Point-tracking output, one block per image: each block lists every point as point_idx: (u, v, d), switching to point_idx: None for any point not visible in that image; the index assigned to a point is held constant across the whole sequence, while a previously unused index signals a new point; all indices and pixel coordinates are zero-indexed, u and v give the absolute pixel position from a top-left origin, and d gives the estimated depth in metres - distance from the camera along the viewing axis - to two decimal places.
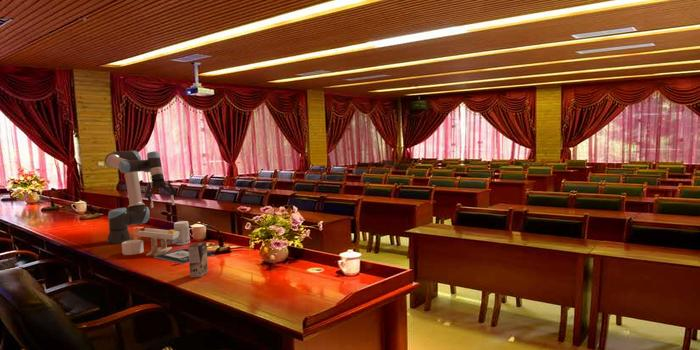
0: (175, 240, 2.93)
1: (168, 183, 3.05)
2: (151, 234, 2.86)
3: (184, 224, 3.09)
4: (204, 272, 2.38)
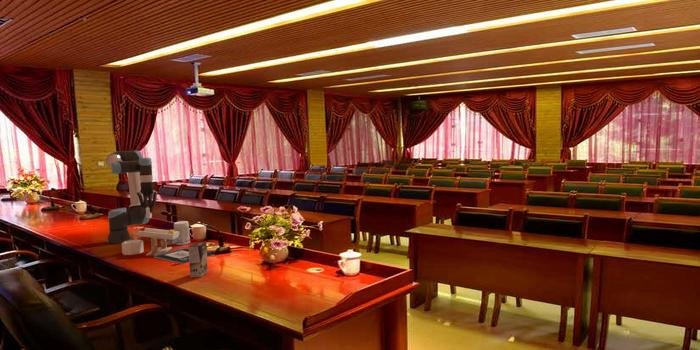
0: (175, 240, 2.93)
1: None
2: (151, 234, 2.86)
3: (184, 224, 3.09)
4: (204, 272, 2.38)
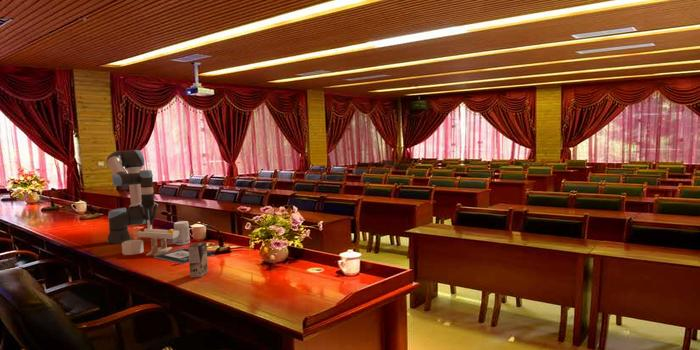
0: (175, 239, 2.93)
1: (154, 206, 2.99)
2: (151, 234, 2.86)
3: (184, 224, 3.09)
4: (204, 272, 2.38)
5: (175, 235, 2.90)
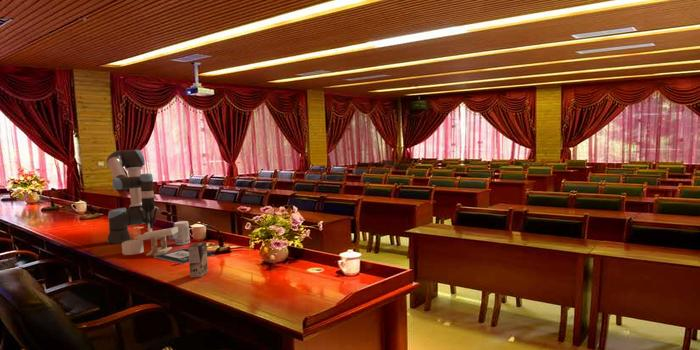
0: (176, 235, 2.92)
1: (154, 210, 2.99)
2: (150, 235, 2.86)
3: (184, 224, 3.09)
4: (204, 272, 2.38)
5: (174, 231, 2.90)
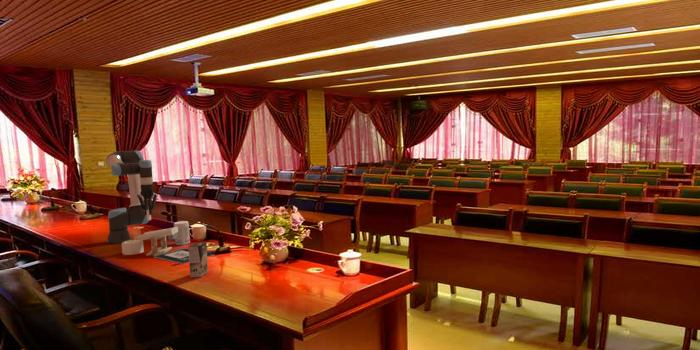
0: (176, 235, 2.92)
1: (153, 196, 2.98)
2: (150, 235, 2.86)
3: (184, 224, 3.09)
4: (204, 272, 2.38)
5: (174, 231, 2.90)
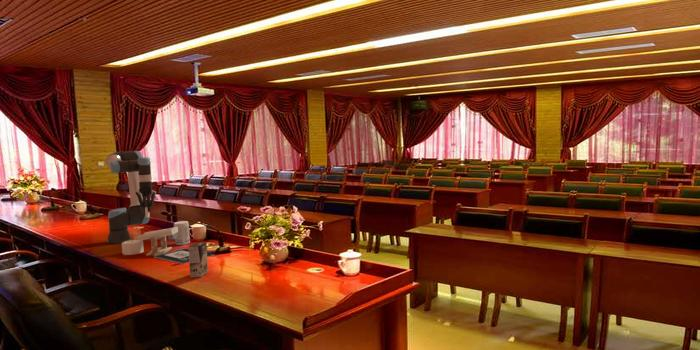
0: (176, 235, 2.92)
1: (152, 193, 2.99)
2: (150, 235, 2.86)
3: (184, 224, 3.09)
4: (204, 272, 2.38)
5: (174, 231, 2.90)
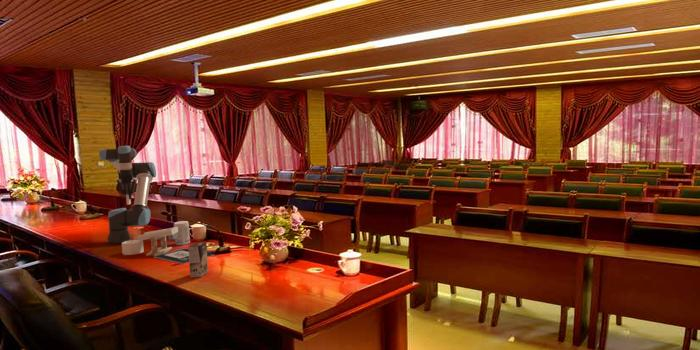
0: (176, 235, 2.92)
1: (133, 181, 3.07)
2: (150, 235, 2.86)
3: (184, 224, 3.09)
4: (204, 272, 2.38)
5: (174, 231, 2.90)
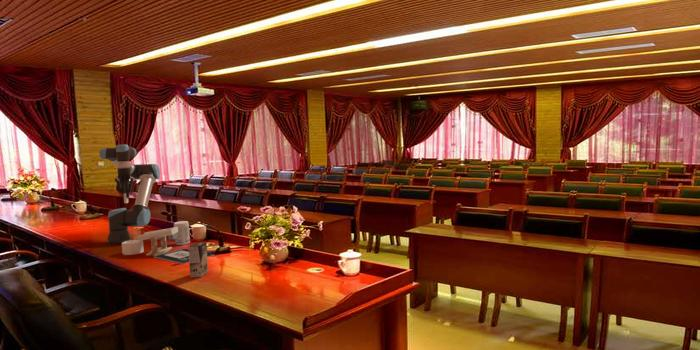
0: (176, 235, 2.92)
1: (130, 180, 3.07)
2: (150, 235, 2.86)
3: (184, 224, 3.09)
4: (204, 272, 2.38)
5: (174, 231, 2.90)
